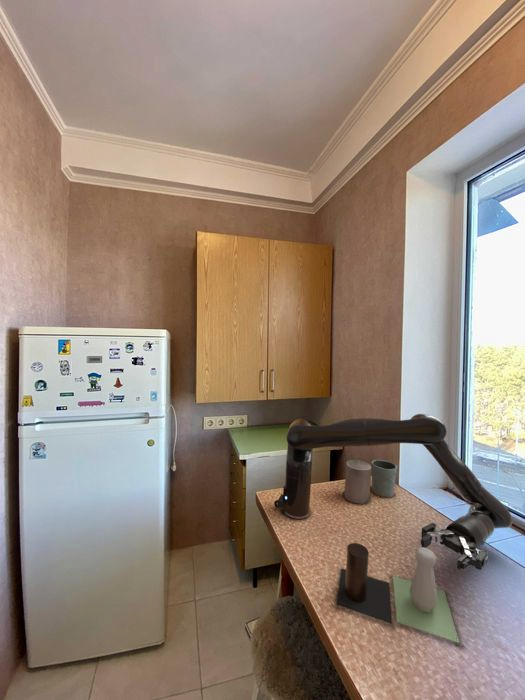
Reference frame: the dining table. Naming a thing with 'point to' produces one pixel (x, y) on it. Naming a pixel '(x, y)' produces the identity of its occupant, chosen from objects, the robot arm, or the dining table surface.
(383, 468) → the grey-green plant pot
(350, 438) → the robot arm
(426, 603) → the salt shaker
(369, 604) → the dark mat
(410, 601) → the sage mat
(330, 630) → the dining table surface
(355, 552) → the dark brown cylinder
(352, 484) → the pillar candle
